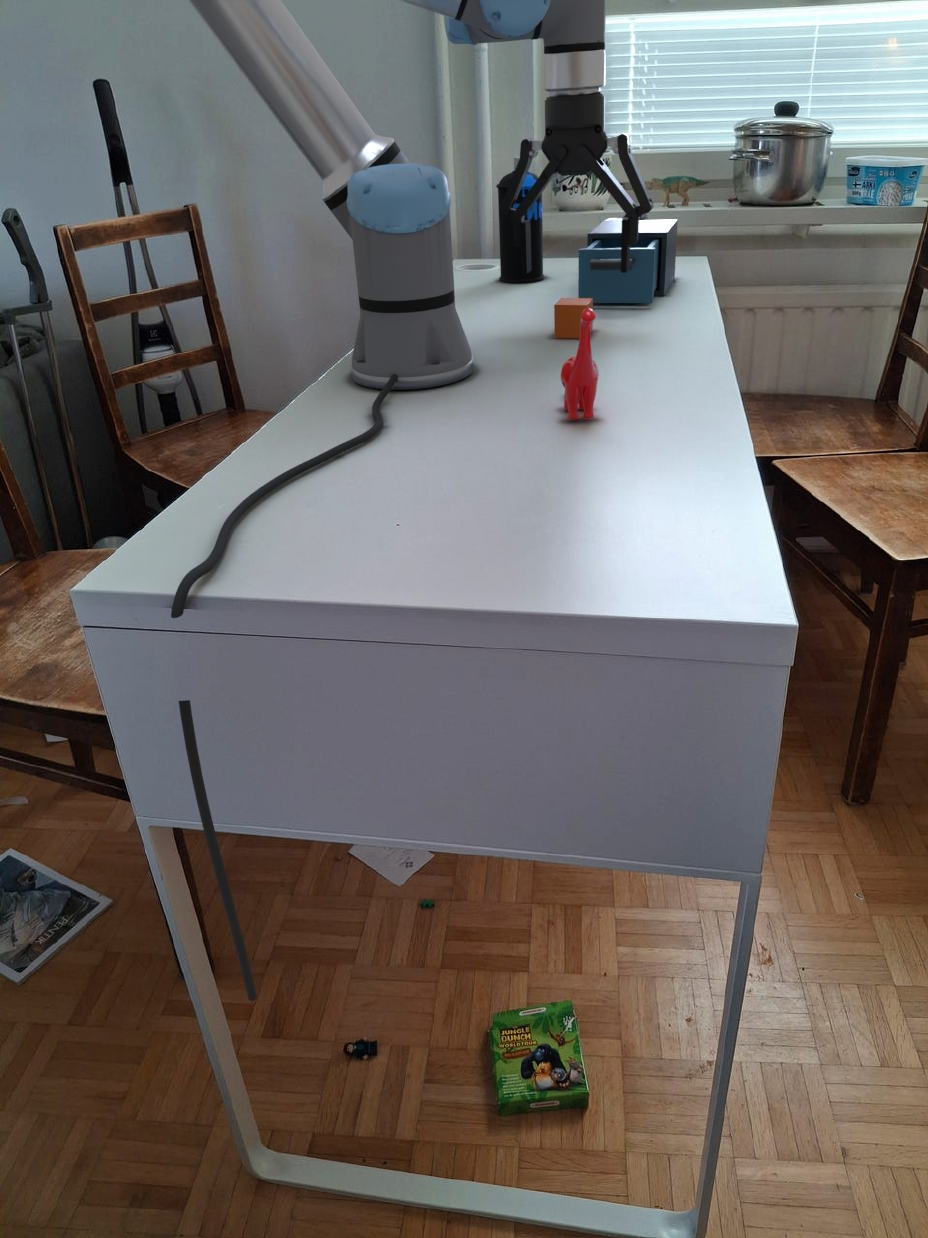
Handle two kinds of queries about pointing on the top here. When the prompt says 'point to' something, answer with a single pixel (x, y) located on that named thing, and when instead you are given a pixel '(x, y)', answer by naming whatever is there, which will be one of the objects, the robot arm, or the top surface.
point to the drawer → (619, 271)
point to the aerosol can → (508, 251)
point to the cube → (570, 316)
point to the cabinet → (647, 230)
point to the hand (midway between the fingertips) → (575, 271)
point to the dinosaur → (581, 373)
